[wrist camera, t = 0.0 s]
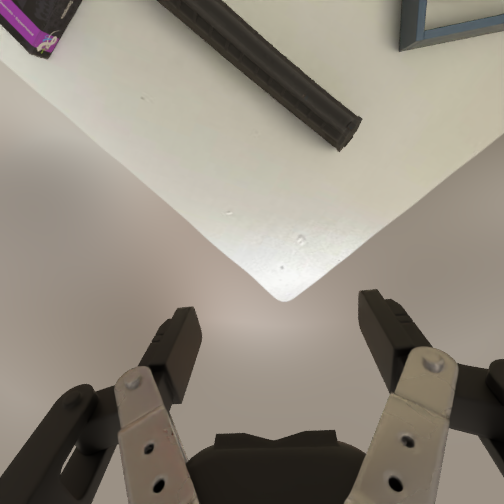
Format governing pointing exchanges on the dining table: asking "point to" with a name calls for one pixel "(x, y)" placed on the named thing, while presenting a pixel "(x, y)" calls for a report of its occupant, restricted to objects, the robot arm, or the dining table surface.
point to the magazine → (267, 67)
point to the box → (37, 22)
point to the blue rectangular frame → (417, 37)
